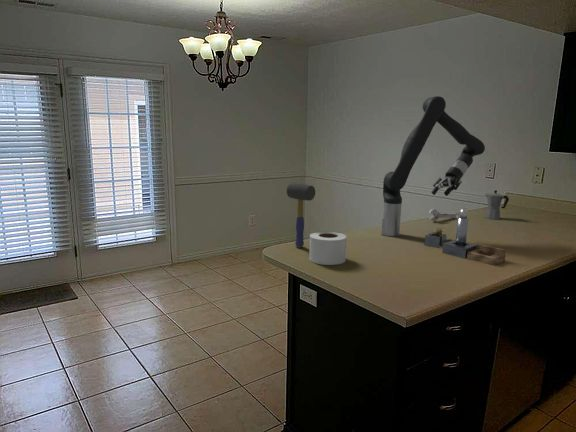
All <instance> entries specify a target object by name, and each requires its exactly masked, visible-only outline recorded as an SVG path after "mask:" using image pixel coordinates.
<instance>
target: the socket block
mask: <svg viewBox="0 0 576 432" xmlns="http://www.w3.org/2000/svg"><path fill="white" fill-rule="evenodd" d="M455 243H456V239H454V240H448V241H446V243H443V246H442V252H441V253H442V254H445V255H450V256H452V257H453V256H454V257H457V258H461V259H467V252H469V251H472V250H475V249H477V246H478V244H476V243H474V242H473V243H472V242H468V241H466V246H460V245H456V244H455Z"/></svg>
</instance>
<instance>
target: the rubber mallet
mask: <svg viewBox="0 0 576 432" xmlns="http://www.w3.org/2000/svg"><path fill="white" fill-rule="evenodd" d="M286 195H287V197H288V198H290V199H294V200H297V216H296V219H295V220H296V221H295V231H296V233H295V234H296V235H295V237H296V238H295V241H294V242H295V247H296V248H303V247H304V244H305V243H304V231H305V229H304V228H305V219H304V201H308V202H309V201H312V200H313V199H314V198H315V197H316V189H315V186H313V185H310V184H306V183H305V184H304V183H297V182H291V183H289V184H288V185H287V187H286Z"/></svg>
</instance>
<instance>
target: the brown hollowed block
mask: <svg viewBox="0 0 576 432" xmlns="http://www.w3.org/2000/svg"><path fill="white" fill-rule="evenodd" d="M477 245H478V246H477V249H475V250H472V251H469V252H467V258H466V259H467V260H471V261H474V262H479V263H481V264H487V265H490V266H496V265H499V264H501V263H503V261H504V262H505V260H506V252H507V250H506V249H503V248H498V247H494V246H489V245H485V244H480V243H478V244H477Z"/></svg>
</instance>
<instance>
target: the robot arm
mask: <svg viewBox="0 0 576 432" xmlns="http://www.w3.org/2000/svg"><path fill="white" fill-rule="evenodd" d="M446 105H447V104H446V100H445V99H444V97H442V96H440V95H439V96H436V95H435V96H431V97H428V98H426V99H425V100H424V101H423V102H422V110H423V112H424V113H423V115H422V117H421V119H420V121H419V122H418V123H417V125H416V126H415V127H414V128H413V129H412V130H411V132H410V133H409V134H408V137H406V140H405V142H404V144H403V146H402V149H401V154H400V160H399V162H398V163H397V166H396V168H395V170H394V171H389V172H387V173H385V175H384V177H383V187H382V196H383V207H382V208H383V209H382V210H383V211H382V217H381V220H382V221H381V232H380V233H381V236H386V237H387V236H388V237H398V236H400V234H401V216H402V205H403V204H402V203H403V198H402V196H401V195H402V194H401V190H402V189H403V188H404V187H405V185H406V183H407V180H408V178H409V176H410V174H411V171H412V169H413V167H414V165H415V163H417V162H416V161H417V160H418V158H419V155H420V154H421V153H422V151H423V149H424V147H425V145H426V143H427V141H428V138H429V137H430V136H431V132H433V128H434V127H435V125H436V123H438V124H439V125H440V126H441V127H442V128H443V129H445V131H447V132H448V134H449V135H450V136H451V137H452V138H453V139H454V140H455V141H456V142H457V143H458V144H459V145H461V146H462V145H463V146H464V145H465V146H464V147H463V148H462V151H461V153H460V155H459V157H458V158H457V159H456V161H455V162H453V163H452V165H450V167H449V169H448V170H447V171H446V173H445V175H444V176H445V177H443V178H441V177H439V178H438V179H436V181H435V182H434V183H433V184H432V187H433V189H432V190H431V194H432V196H435V195H436V194H437V192H438V191H439V190H440V189H444V188H446V190H445V191H444V192H443V194H444V196H446V197H448V196H449V195H450V194H451V192H453V191H457V190H458V188H459V187H460V185H461V184H462V183H463V182H462V178H463V177H464V175H465V174H466V172H467V171H468V169H469V168H470V167H471V165H472V164H473V162H474V159H473V158H474V157H476V156H480V155H482V154H484V152H485V150H486V146H485V143H484V142H483V141H482V140H481V139H479V138H478V137H476V136H475V135H474V134H471V133H470V132H469V131H468V130H467V129H466V127H465V126H463V125H462V123H460V122H458V121H457V120H455V119H454V118H453V117H451V116H450V115H449V114H448V113H447V112H446V111H445V110H446Z"/></svg>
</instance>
